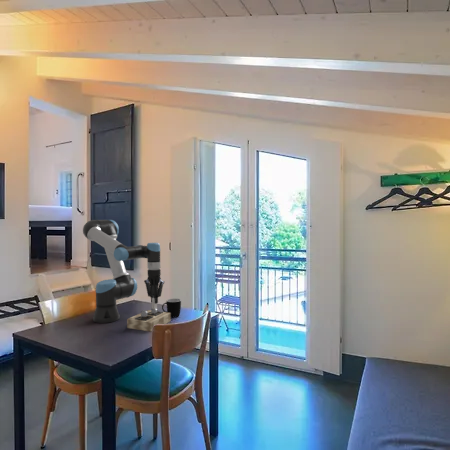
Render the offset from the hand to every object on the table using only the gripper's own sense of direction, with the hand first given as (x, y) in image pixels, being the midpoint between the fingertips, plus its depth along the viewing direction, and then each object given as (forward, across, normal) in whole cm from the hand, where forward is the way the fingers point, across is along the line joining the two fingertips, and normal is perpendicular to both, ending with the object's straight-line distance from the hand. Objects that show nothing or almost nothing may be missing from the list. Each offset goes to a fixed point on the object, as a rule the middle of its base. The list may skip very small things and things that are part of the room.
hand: (154, 308), depth 208 cm
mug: (+8, +3, +14) cm, 16 cm away
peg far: (+5, 0, 0) cm, 5 cm away
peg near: (+4, 0, -10) cm, 11 cm away
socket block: (+8, 0, -5) cm, 9 cm away
